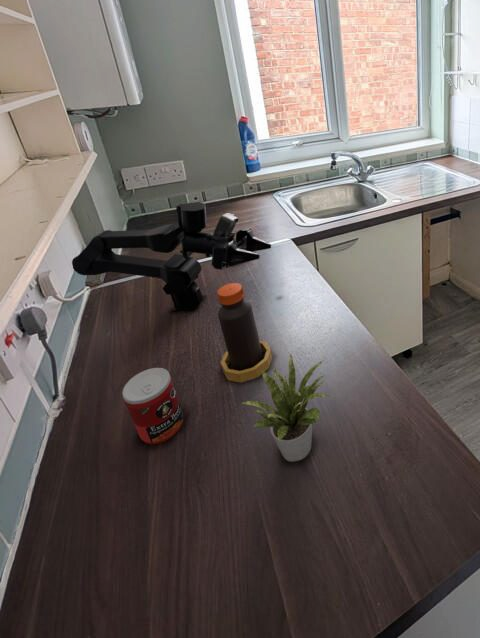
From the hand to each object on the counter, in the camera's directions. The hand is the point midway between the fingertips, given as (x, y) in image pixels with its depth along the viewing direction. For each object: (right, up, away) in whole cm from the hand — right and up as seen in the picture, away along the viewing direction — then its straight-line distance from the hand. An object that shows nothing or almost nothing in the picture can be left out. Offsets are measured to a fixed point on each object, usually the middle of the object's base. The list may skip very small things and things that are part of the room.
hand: (265, 251), depth 105 cm
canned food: (-11, -31, -28) cm, 43 cm away
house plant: (+17, -31, -34) cm, 49 cm away
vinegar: (+1, -24, -15) cm, 28 cm away
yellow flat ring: (+1, -24, -15) cm, 28 cm away
